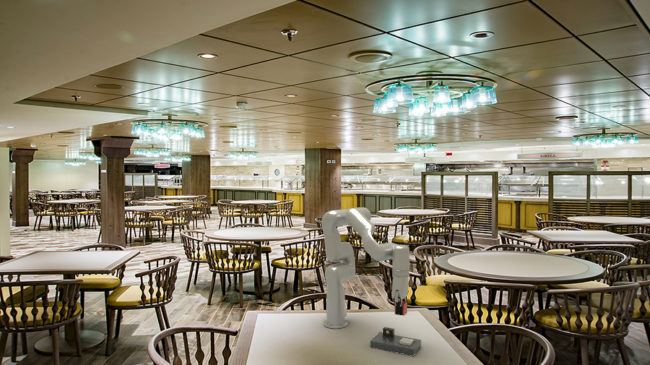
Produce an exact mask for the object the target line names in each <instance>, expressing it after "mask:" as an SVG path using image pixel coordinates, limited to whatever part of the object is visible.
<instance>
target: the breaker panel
mask: <svg viewBox="0 0 650 365" xmlns="http://www.w3.org/2000/svg"><path fill="white" fill-rule="evenodd" d="M402 338H407V339H412V340H414V343H413V345H412V346H408V345H403V344H400V340H401V339H402ZM369 347H370V348H372V349H376V348H377V349H378V350H381V349H382V351H387V352H391V351H392V353H395V352H398V354H400V353H404V354H403V355H405V354H409V355H408V356H410V355H414V354H415V353H416V352H417V353H418V351H419V350H420V349H421V347H422V339H419V338H411V337H407V336H402V335H396V333H395V328H392V327H383V328H382V331H381V332H378V333H377V334H376V335H375V336H374V337H373V338H372V339H371V340H370V344H369ZM419 348H420V349H419ZM377 349H376V350H377ZM418 349H419V350H418ZM417 353H416V354H417ZM416 354H415V355H416ZM415 355H414V356H415Z"/></svg>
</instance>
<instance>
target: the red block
mask: <svg viewBox="0 0 650 365" xmlns="http://www.w3.org/2000/svg"><path fill="white" fill-rule="evenodd" d="M402 306H403V315H401V316H406V315H407V314H408V302H407V301H406V302H403V301H402Z"/></svg>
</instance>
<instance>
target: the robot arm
mask: <svg viewBox="0 0 650 365" xmlns="http://www.w3.org/2000/svg"><path fill="white" fill-rule="evenodd" d="M371 220H372V212H371V211H370V210H369V209H368V208H367V207H352V208H346V209H344V208H343V209H334V210H332V209H331V210H329V211H327V212H325V213H324V215H323V216H322V218H321V228H322V231H323V238H324V239H323V240H324V248H325V249H324V250H325V257H326V259H327V260H328V261H329V262H338V261H339V262H338V263H333V264H331V265H329V266H327V267H326V268H325V270H324V278H325V283H326V314H325V315H326V319H324V320H323V324H322V325H323V326H324V327H325V328H329V329H337V330H338V329H344V328H345V327H347V326H348V324H349V323H348V321H347V320H345V319H346V317H347V313H346V291H345V287H344V285H343V282H345V281H350V280H352V279H354V278H355V276H356V263H355V262H356V261H355V260H356V259H355V253H354V248H353V247H352V245H351V243H349V241H348V242H347V241H342V240H341V233H340V231H339V229H338V228H337V227H343V226H344V227H345V226H350V227H352V229H353V230H354V231H355V232H356V233H357V235H359V236H360V237H361V243H362V246H363V249H364V250H365V252H366V253H367V254H369V256H370V257H371V258H372V259H373V260H375V261H377V262H382V261H389V260H392V269H391V270H392V286H391V287H392V288H391V298H392V300H394V315H396V316H402V315H403V306H402V301H403V302H407V297H408V295H409V277H410V247H409V246H408V245H406V244H397V243H394V242H386V243H378V242H377V241H376V240H375V239H374V238H373V234H374V233H375V231H376V226H375V224H374V223H373V222H372V221H371Z"/></svg>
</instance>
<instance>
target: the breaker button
mask: <svg viewBox="0 0 650 365" xmlns="http://www.w3.org/2000/svg"><path fill="white" fill-rule="evenodd" d="M413 343H414V340H412V339H407V338H402V339H401V340H400V344H403V345H408V346H412V345H413Z"/></svg>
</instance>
